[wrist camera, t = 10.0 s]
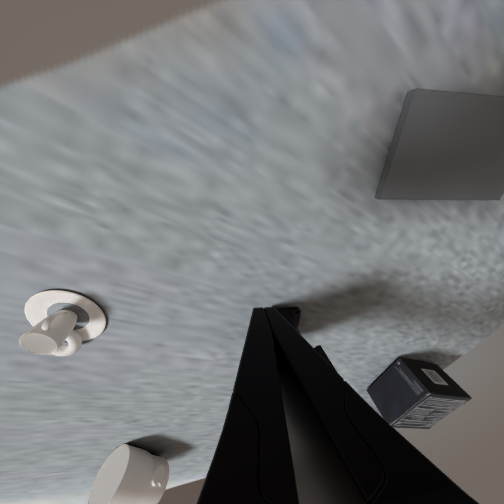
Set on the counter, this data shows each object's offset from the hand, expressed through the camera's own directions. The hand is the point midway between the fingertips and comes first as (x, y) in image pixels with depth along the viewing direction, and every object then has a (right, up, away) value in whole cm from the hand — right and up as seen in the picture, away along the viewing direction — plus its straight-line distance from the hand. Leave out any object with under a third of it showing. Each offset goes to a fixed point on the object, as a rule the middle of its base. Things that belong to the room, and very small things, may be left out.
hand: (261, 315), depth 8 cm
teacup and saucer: (-25, -5, +15) cm, 29 cm away
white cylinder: (-25, -39, +31) cm, 55 cm away
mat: (+20, +13, +11) cm, 27 cm away
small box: (+32, -19, +25) cm, 45 cm away
